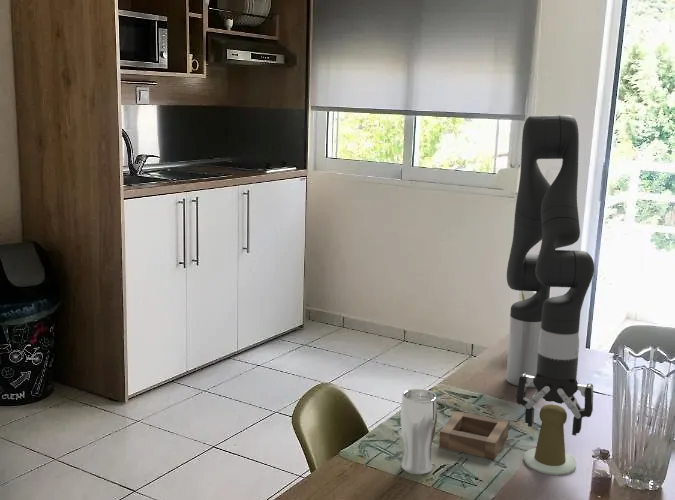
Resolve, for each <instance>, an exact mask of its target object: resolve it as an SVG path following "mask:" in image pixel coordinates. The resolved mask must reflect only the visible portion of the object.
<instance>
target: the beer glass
mask: <svg viewBox="0 0 675 500" xmlns="http://www.w3.org/2000/svg"><path fill="white" fill-rule="evenodd" d="M437 401H438V400H437V394H436V393H435V392H433V391H430V390H428V389H424V388H413V389H412V388H411V389H408V390H405V391H404V392H403V393H402V399H401V408H400V427H401V435H402V442H403V454H402V459H401V462H400V464H401V465H400V466H401V468H402V470H403V471H405V472H407V474H412V475H426V474H428V473H430V472H431V471H432V470H433V460H432V445H433V443H434V438H435V433H436V427H437V420H438V404H437V403H438V402H437Z"/></svg>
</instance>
